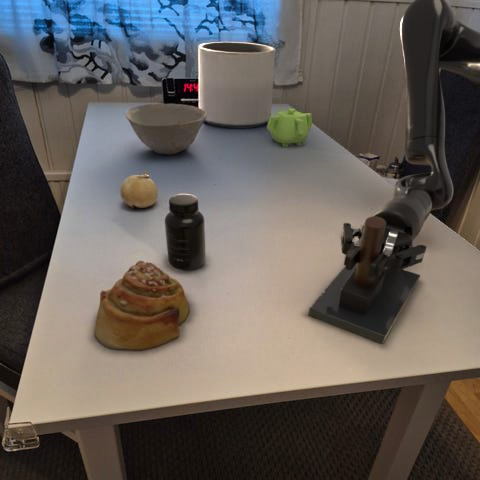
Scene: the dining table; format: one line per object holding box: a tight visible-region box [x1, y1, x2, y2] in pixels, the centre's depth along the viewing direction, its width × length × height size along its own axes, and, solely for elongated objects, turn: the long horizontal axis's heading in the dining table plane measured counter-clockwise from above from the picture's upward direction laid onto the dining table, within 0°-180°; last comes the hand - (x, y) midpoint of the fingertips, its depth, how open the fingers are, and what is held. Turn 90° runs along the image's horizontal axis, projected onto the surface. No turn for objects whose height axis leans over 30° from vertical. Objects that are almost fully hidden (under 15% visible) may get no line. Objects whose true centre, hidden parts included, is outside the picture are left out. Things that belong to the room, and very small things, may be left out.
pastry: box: [94, 260, 191, 351], centre depth 65 cm, size 13×15×8 cm
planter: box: [197, 41, 276, 129], centre depth 150 cm, size 25×25×22 cm
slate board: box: [307, 262, 421, 345], centre depth 74 cm, size 20×12×2 cm, turn 148°
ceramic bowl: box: [124, 103, 207, 156], centre depth 126 cm, size 22×23×10 cm
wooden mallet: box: [339, 215, 386, 315], centre depth 65 cm, size 7×4×14 cm, turn 148°
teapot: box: [266, 107, 313, 148], centre depth 136 cm, size 12×12×10 cm
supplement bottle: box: [164, 193, 207, 271], centre depth 77 cm, size 7×7×12 cm
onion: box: [119, 170, 159, 209], centre depth 97 cm, size 8×8×7 cm
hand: (360, 267), depth 63 cm, fingers closed on wooden mallet, 3 cm apart
